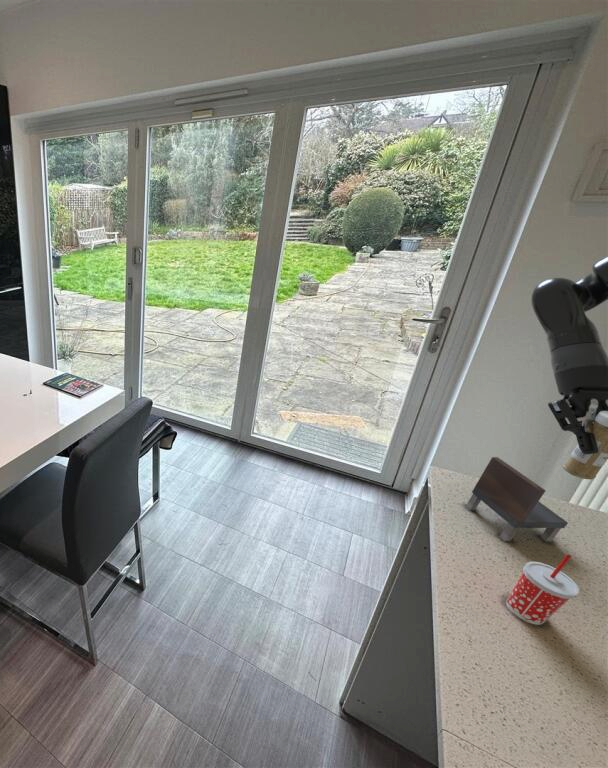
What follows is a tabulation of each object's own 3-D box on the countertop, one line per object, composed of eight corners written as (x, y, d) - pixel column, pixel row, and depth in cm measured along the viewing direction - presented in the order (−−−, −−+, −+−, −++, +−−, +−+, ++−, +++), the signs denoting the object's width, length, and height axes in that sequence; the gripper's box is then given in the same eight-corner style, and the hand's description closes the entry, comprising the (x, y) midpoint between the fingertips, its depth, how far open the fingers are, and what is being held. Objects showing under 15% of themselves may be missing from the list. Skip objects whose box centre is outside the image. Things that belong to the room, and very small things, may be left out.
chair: (506, 508, 90) (539, 457, 84) (551, 544, 82) (592, 491, 75) (462, 507, 90) (492, 456, 84) (503, 544, 81) (539, 490, 75)
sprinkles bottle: (598, 483, 79) (642, 425, 73) (565, 475, 81) (606, 418, 75) (588, 470, 82) (629, 414, 76) (557, 462, 84) (595, 407, 78)
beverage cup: (554, 620, 67) (604, 562, 61) (539, 638, 64) (591, 579, 58) (507, 591, 72) (549, 534, 65) (492, 606, 69) (534, 548, 63)
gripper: (561, 361, 79) (585, 448, 74) (643, 365, 78) (672, 455, 73) (525, 373, 86) (544, 454, 81) (599, 378, 85) (624, 460, 80)
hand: (605, 454), depth 77 cm, fingers closed on sprinkles bottle, 4 cm apart
